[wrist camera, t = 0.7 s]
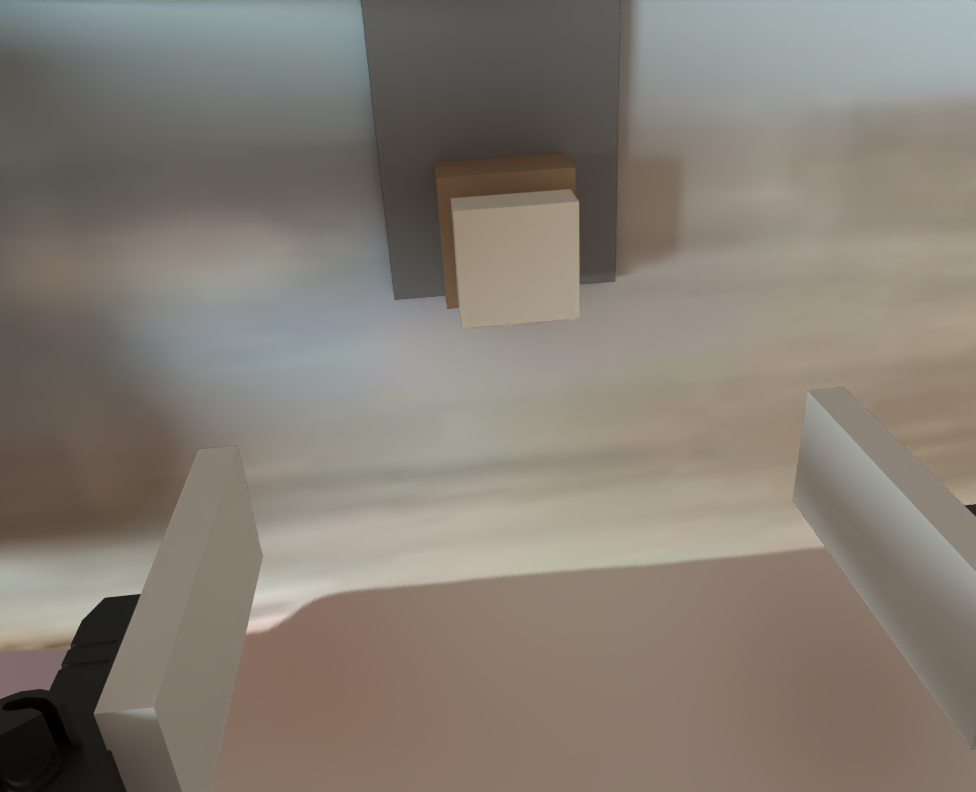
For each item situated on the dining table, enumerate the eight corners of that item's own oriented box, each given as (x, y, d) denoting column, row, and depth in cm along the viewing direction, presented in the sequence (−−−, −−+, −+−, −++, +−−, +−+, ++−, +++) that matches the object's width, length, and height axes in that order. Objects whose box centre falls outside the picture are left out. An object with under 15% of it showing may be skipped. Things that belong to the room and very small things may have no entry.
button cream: (455, 286, 41) (462, 328, 36) (447, 180, 38) (453, 211, 34) (560, 277, 41) (579, 318, 36) (558, 171, 38) (579, 201, 34)
